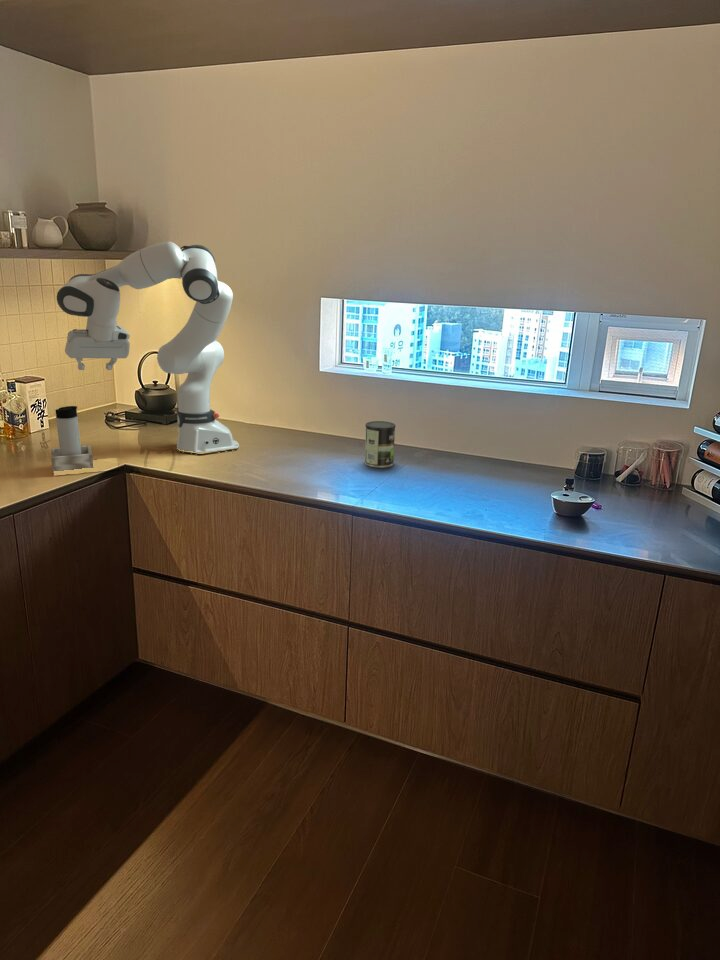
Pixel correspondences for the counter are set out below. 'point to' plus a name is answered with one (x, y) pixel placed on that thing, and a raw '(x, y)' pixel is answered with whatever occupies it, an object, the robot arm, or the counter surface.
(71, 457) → the mug caddy
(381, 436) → the coffee can
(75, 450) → the travel mug
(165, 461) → the counter surface
